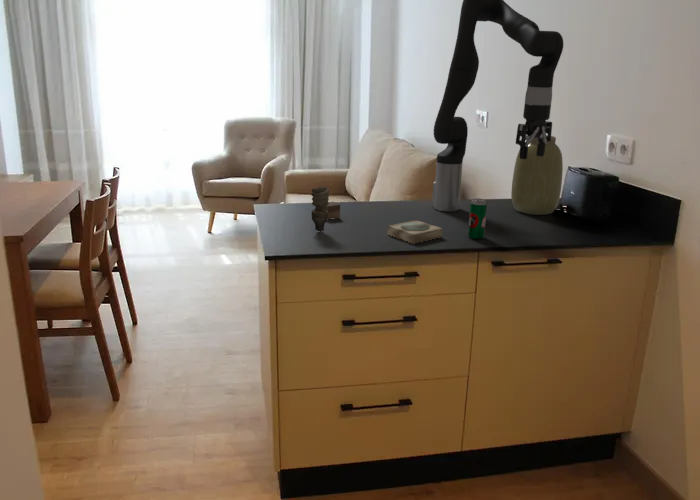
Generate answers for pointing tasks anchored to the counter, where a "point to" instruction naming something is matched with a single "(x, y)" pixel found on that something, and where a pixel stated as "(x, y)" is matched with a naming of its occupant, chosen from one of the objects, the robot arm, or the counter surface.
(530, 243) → the counter surface
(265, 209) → the counter surface
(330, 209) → the walnut cube
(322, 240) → the counter surface
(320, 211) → the light bulb
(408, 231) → the pedestal
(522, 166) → the vase
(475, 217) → the soda can
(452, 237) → the counter surface
